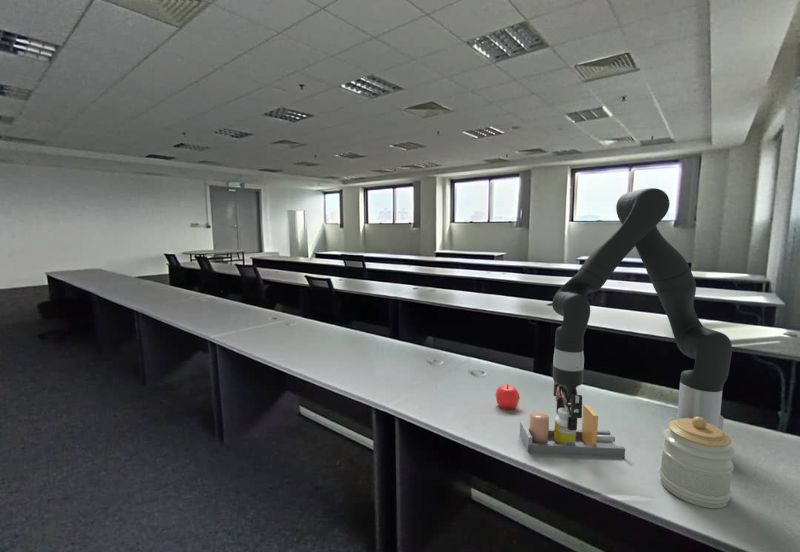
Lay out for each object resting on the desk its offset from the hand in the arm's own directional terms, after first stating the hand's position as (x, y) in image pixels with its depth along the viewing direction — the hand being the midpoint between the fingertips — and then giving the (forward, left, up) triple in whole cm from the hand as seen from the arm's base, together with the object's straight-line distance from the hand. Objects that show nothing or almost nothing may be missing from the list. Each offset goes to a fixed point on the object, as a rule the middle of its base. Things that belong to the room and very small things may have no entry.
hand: (566, 421), depth 104 cm
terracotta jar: (+7, 0, -7) cm, 10 cm away
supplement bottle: (0, 0, -7) cm, 7 cm away
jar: (-23, +16, -8) cm, 29 cm away
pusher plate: (-9, 0, -6) cm, 11 cm away
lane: (-1, 0, -7) cm, 7 cm away
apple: (+11, -24, -8) cm, 27 cm away
